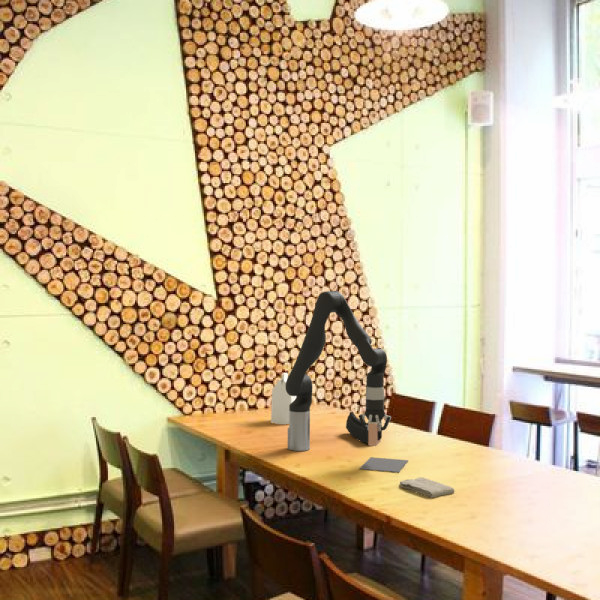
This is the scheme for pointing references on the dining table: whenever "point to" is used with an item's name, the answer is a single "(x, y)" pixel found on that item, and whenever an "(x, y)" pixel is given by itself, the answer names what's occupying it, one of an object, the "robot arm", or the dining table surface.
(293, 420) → the robot arm
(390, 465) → the mat
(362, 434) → the magazine
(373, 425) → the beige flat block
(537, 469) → the dining table surface
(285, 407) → the milk
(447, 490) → the washcloth
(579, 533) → the dining table surface
